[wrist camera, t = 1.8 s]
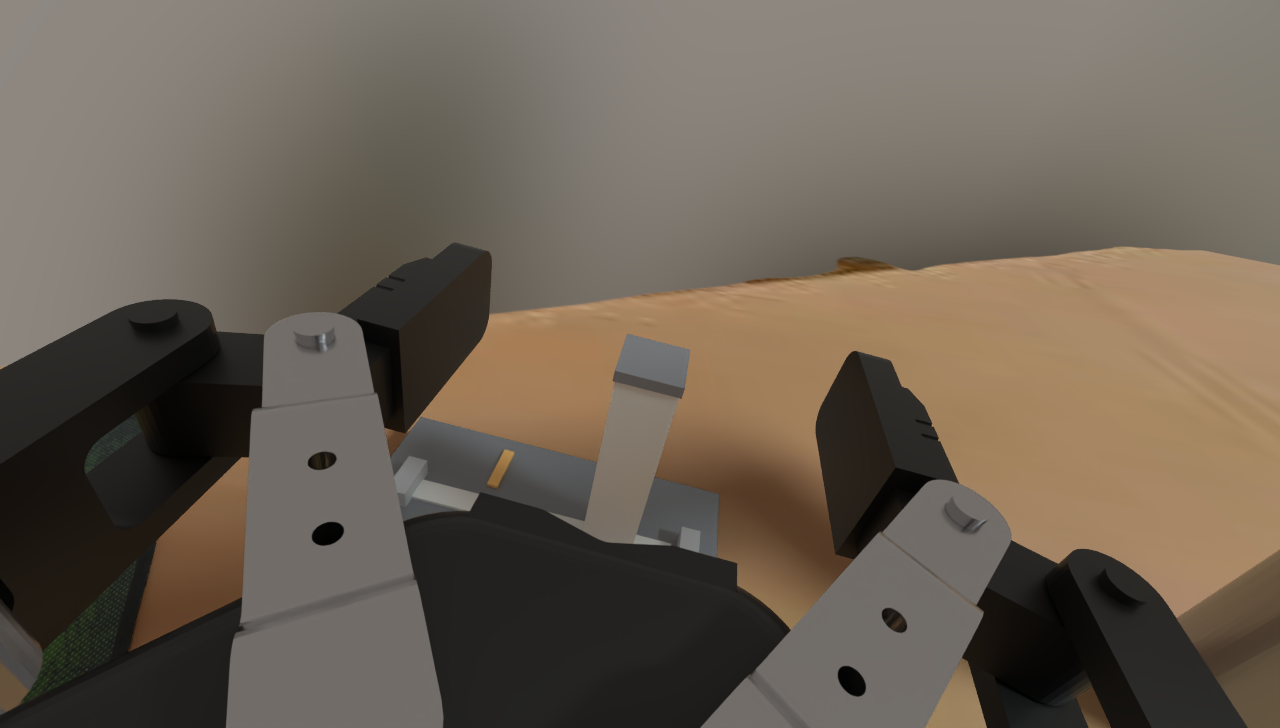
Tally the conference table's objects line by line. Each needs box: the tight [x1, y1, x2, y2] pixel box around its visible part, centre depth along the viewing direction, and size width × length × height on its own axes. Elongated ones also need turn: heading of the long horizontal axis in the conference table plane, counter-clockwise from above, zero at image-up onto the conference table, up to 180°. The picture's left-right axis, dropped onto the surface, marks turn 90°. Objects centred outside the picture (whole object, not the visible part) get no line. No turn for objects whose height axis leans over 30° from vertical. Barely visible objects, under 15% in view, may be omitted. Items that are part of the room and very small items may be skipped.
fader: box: [583, 334, 690, 544], centre depth 29 cm, size 3×3×14 cm
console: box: [390, 417, 719, 558], centre depth 34 cm, size 22×12×4 cm, turn 81°
